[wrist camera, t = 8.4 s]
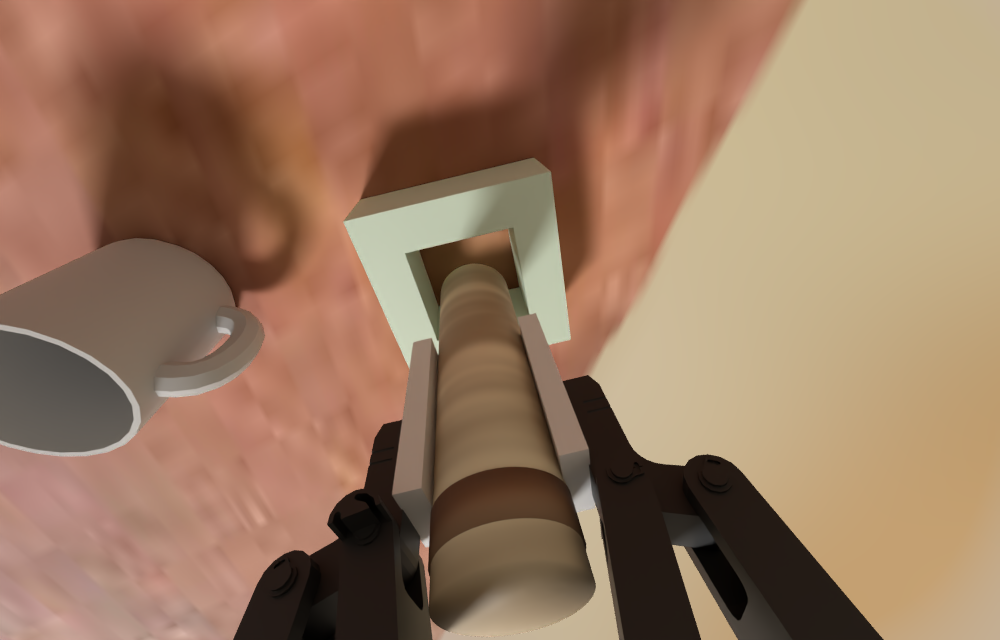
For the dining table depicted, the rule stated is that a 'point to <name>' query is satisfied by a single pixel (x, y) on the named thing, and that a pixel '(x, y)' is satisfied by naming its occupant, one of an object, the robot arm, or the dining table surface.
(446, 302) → the striped wooden dowel
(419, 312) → the square block with hole
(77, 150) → the dining table surface
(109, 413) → the cup
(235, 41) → the dining table surface
